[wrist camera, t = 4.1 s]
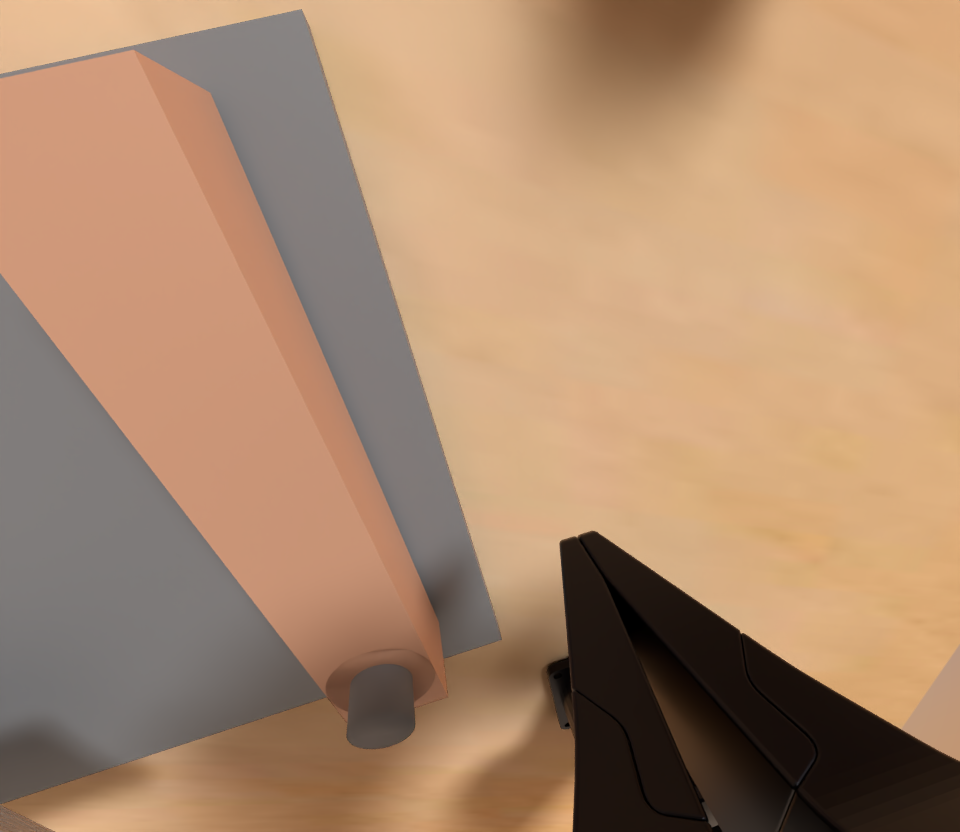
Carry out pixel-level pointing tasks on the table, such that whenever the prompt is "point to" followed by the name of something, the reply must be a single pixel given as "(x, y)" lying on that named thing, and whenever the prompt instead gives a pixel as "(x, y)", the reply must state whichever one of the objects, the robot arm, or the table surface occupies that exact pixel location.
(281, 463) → the link
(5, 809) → the keeper
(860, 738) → the robot arm
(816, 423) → the table surface
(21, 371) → the board
